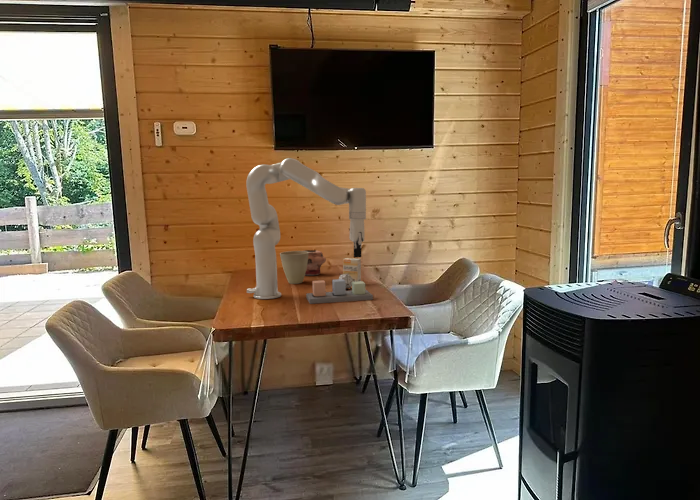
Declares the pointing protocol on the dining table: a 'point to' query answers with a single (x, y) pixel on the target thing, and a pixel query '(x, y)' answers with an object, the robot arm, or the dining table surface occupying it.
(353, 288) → the sage block
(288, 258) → the plant pot
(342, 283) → the slate block
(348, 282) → the game die
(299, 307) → the dining table surface
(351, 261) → the supplement box
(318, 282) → the terracotta block
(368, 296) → the board
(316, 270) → the decorative planter
